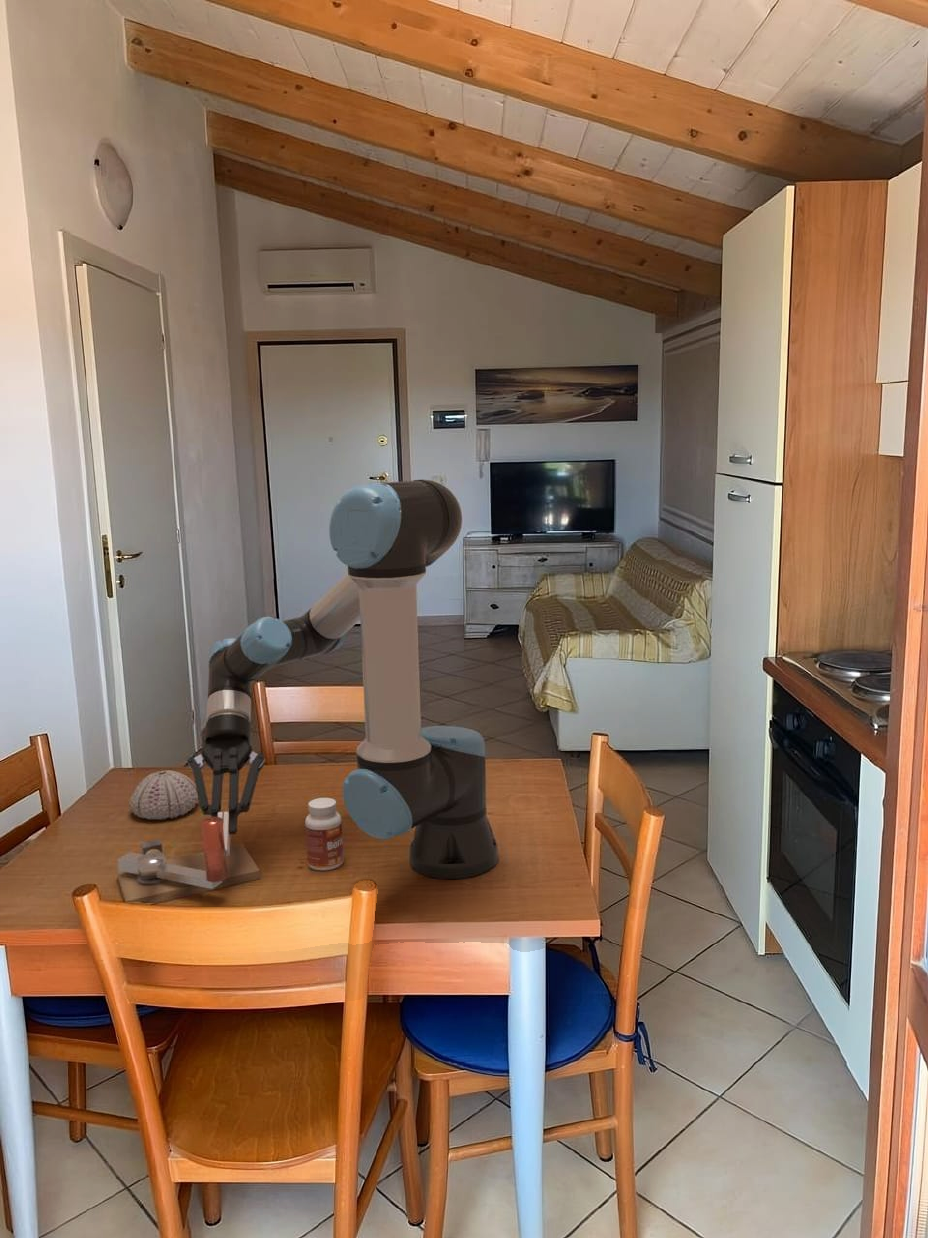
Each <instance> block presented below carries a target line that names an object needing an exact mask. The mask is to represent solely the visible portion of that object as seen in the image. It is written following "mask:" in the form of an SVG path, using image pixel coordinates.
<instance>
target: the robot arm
mask: <svg viewBox="0 0 928 1238" xmlns="http://www.w3.org/2000/svg"><path fill="white" fill-rule="evenodd" d="M462 524H463V514H462V508H461V506H460V503H459V501H458V499H457V498H456V496H455V494H454V493H453V492H452V491H451V490H450V489H449V488H447V486H445V485H443V484H442V483H439V482H437V481H434V480H430V479H414V480H406V481H391V482H390V481H389V482H375V483H373V482H372V483H369V484H365V485H359V486H355V487H353V488H351V489H349V490H347V491H346V492H345V493H343V495H342V496H341V498H340V499H339V500H338V501H337V502H336V504H335V505H334V507H333V510H332V513H331V515H330V520H329V532H328V533H329V540H330V545H331V547H332V550H333V551H335V552H336V558H337V559H338V560H339V561H340V562H342V563H343V564H344V565H345V566H347V573H345V574H344V575H343V577H341V579H339V580H338V582H337V581H336V583H335V584H334V585H333V586H332V587H331V588H330V589H329V590H328V591H327V592H326V593H325V594H324V595H323V596H321V598H319V600H318V601H317V602H316V603H315V604H313V606H312V607H311V608H310V609H309V610H308V611H306V612H305V613H304V614H303V615H301V616H298V617H295V618H290V619H286V620H281V619H279V618H274V617H271V616H265V617H264V616H263V617H261V618H258V619H257V620H255V621H254V622H253V623H251V624H250V625H248V627H246V628H245V630H244V631H243V632H242V633H241V634H240V635H239V636H238V637H237V638H232V637H231V638H229V637H228V638H224V639H222V640H218V641H217V642H215V643H214V644H213V645H212V646H211V650H210V655H209V660H208V686H207V687H208V689H207V701H206V702H207V703H206V715H205V716H206V717H205V718H206V723H205V734H204V746H203V748H202V749H201V751H200V754H198V755H196V756H195V757H192V756H190V757H188V759H187V761H186V762H187V763H188V766H189V769H190V770H191V772H192V773H193V778H194V784H196V789H197V794H198V799H199V800H198V804H199V808H200V810H201V813H202V814H203V815H204V816H207V815H208V816H210V817H220V818H222V819H223V831H224V843H225V855H226V856H230V846H231V835H236V834H237V832H238V817H239V815H240V814H242V813H247V812H249V811H250V808H251V804H252V800H253V796H254V793H255V790H256V785H257V782H258V778H259V774H260V772H261V770H262V769H263V767H264V766H265V764H266V759H265V755H264V754H263V753H260V752H258V753H257V752H255V751H253V747H252V745H251V722H250V721H251V718H252V717H251V715H252V686H253V685H252V684H253V682H254V681H256V680H257V679H258V678H259V677H261V676H262V675H263V674H264V673H265V672H267V671H268V670H269V669H272V668H275V667H279V666H281V665H286V664H289V663H292V662H297V661H301V660H304V659H308V658H312V657H316V656H320V655H326V654H329V653H332V652H333V651H335V650H337V649H340V648H341V647H342V646H343V645H344V643H345V639H346V637H347V632H348V631H349V630H350V629H352V628H353V626H355V625H356V624H357V623H358V622H359V621H360V636H361V637H360V638H361V639H360V641H361V659H362V660H361V663H362V682H363V683H362V685H363V688H362V689H363V704H364V705H363V706H364V725H365V726H364V727H365V739H363V740H362V741H361V743H360V744H359V745H358V746H357V748H356V750H355V751H356V769H354V770H351V771H350V773H349V774H348V775H347V777H346V778H345V779H344V782H343V783H342V799H343V802H344V807H345V809H346V811H347V813H348V815H349V817H350V818H351V820H352V821H353V822H354V823H355V825H356V826H357V827H358V828H359V829H360V830H361V831H362V832H364V833H365V834H366V835H368V836H370V837H372V838H375V839H379V840H387V839H388V840H389V839H392V838H394V837H396V836H399V835H404V834H406V833H408V832H409V831H410V830H412V829H414V828H415V829H414V833H413V839H412V841H411V842H410V844H409V850H408V851H409V856H408V857H409V864H410V866H411V868H412V869H414V870H415V872H417V873H419V874H421V875H424V876H426V877H430V878H435V879H440V880H441V879H445V880H458V879H459V880H460V879H467V878H473V877H476V876H479V875H482V874H485V873H486V872H488V871H490V870H491V869H493V868H494V867H495V866H496V864H497V863H498V859H499V854H498V853H499V852H498V851H499V850H498V849H499V848H498V847H499V846H498V844H497V840H496V838H495V836H494V832H493V829H492V826H491V824H490V821H489V818H488V815H487V780H486V779H487V777H486V776H487V773H486V771H487V770H486V758H487V754H486V748H485V739H484V737H483V736H482V734H481V733H479V732H478V731H476V730H474V729H471V728H466V727H462V726H461V727H460V726H453V725H452V726H451V725H432V726H425V727H422V721H421V693H420V692H421V690H420V687H421V685H420V662H419V661H420V660H419V657H420V656H419V654H420V653H419V630H418V629H419V628H418V603H417V602H418V600H417V599H418V597H417V596H418V595H417V585H418V583H419V582H420V580H421V579H423V578H424V576H425V575H426V574H427V567H430V566H431V565H433V564H434V563H435V562H436V561H437V560H439V558H441V557H442V556H443V555H444V554H446V552H447V551H448V550H449V549H450V548H451V547H452V546H453V545H454V544H455V542H456V541H457V540H458V537H459V535H460V533H461V531H462ZM248 761H249V764H250V767H249V770H248V773H247V777H246V781H245V784H244V787H243V791H242V794H241V799H240V802H239V793H240V792H239V784H240V783H239V781H240V771H242V768H243V767H244V766H245V765H246V764H247V763H248ZM204 762H205V763H206V764H207V765H208V767H209V768H210V769H211V770H212V773H213V774H212V775H213V776H212V791H211V801H210V803H211V804H209V801H208V794H207V790H206V786H205V785H206V784H205V781H204V776H203V772H202V770H203V768H204ZM227 773H228V774H229V775H228V776H229V778H228V779H229V780H228V782H229V783H228V784H229V785H228V806H227V808H228V811H222V797H223V781H224V775H225V774H227Z"/></svg>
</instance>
